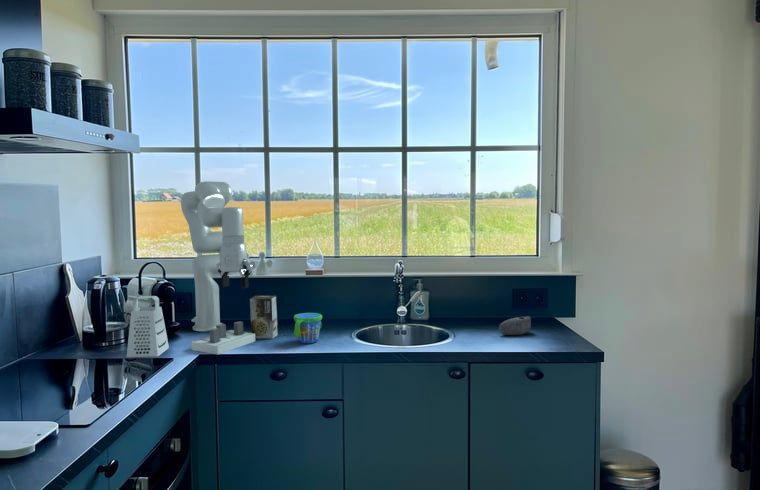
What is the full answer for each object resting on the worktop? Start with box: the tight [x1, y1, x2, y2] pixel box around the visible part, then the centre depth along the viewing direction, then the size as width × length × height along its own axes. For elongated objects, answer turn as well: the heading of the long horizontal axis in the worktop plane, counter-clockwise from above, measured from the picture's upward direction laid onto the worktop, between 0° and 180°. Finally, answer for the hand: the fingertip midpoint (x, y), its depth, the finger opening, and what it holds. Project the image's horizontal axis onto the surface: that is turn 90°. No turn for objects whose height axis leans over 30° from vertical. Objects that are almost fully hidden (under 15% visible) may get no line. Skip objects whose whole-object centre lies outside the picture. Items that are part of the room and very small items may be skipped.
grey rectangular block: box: [216, 323, 227, 338], centre depth 179 cm, size 3×3×4 cm
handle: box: [208, 328, 221, 343], centre depth 172 cm, size 3×3×4 cm
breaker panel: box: [191, 329, 256, 355], centre depth 178 cm, size 13×19×3 cm
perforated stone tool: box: [498, 315, 532, 336], centre depth 191 cm, size 15×5×7 cm, turn 106°
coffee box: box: [249, 295, 278, 339], centre depth 190 cm, size 9×6×16 cm
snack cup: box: [293, 312, 323, 344], centre depth 183 cm, size 16×10×10 cm
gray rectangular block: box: [233, 321, 245, 335], centre depth 183 cm, size 3×3×4 cm
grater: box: [126, 295, 170, 358], centre depth 170 cm, size 10×10×20 cm
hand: (235, 287), depth 176 cm, fingers open, 9 cm apart
